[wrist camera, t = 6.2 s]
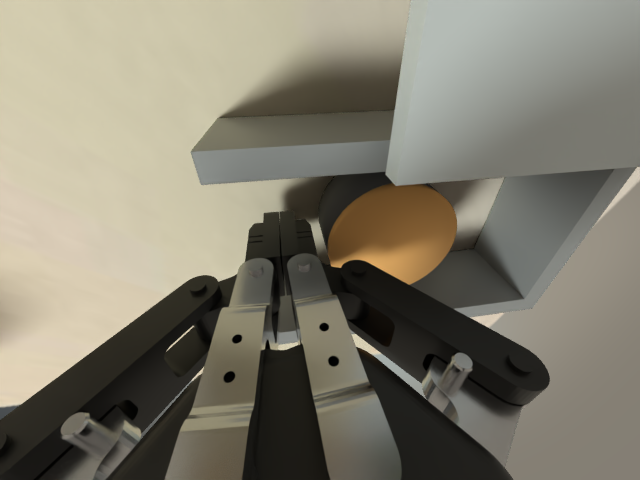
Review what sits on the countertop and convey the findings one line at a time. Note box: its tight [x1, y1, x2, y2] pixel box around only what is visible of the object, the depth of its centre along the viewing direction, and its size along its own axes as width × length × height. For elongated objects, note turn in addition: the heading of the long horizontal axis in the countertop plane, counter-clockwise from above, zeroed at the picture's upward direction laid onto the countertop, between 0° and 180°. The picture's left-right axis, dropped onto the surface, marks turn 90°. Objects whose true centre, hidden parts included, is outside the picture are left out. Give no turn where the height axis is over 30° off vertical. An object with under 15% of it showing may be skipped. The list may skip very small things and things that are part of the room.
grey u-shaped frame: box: [191, 110, 637, 345], centre depth 13 cm, size 10×16×5 cm, turn 91°
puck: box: [318, 172, 457, 285], centre depth 13 cm, size 6×6×4 cm
